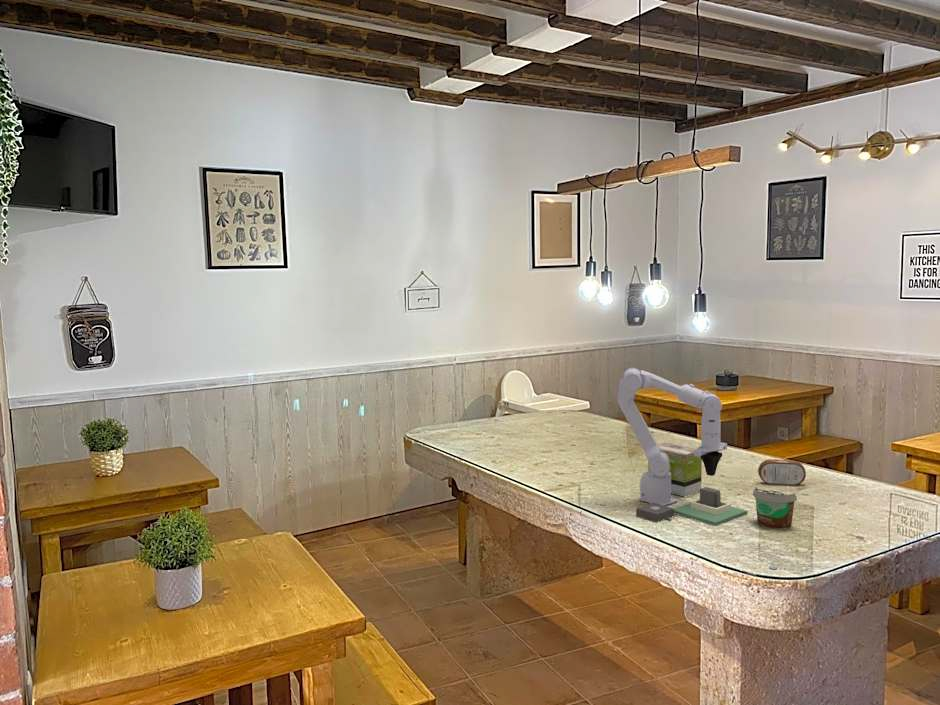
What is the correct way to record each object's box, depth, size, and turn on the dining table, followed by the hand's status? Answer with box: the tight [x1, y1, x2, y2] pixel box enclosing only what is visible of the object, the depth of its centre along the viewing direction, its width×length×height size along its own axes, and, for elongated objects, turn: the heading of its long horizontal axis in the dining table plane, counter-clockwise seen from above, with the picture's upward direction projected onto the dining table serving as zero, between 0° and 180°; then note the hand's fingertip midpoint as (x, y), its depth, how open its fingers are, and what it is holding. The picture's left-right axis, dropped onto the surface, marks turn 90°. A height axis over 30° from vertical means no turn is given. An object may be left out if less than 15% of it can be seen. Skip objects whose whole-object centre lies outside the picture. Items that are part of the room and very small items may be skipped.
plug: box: [699, 486, 722, 508], centre depth 224 cm, size 6×3×6 cm, turn 37°
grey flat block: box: [635, 503, 675, 523], centre depth 222 cm, size 10×8×3 cm
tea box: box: [647, 441, 703, 498], centre depth 248 cm, size 15×10×15 cm, turn 40°
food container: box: [752, 485, 798, 529], centre depth 212 cm, size 12×6×10 cm, turn 44°
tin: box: [757, 459, 807, 486], centre depth 251 cm, size 15×3×8 cm, turn 74°
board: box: [674, 498, 748, 527], centre depth 224 cm, size 16×16×3 cm
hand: (710, 475), depth 232 cm, fingers closed
